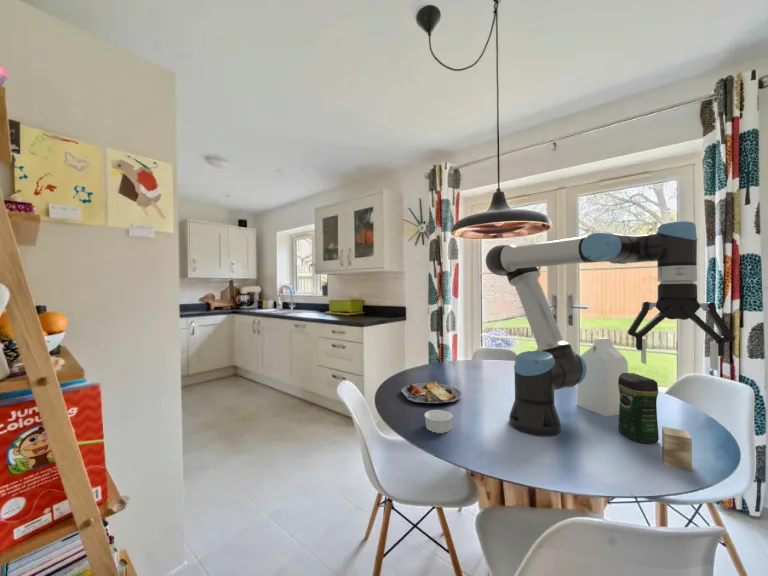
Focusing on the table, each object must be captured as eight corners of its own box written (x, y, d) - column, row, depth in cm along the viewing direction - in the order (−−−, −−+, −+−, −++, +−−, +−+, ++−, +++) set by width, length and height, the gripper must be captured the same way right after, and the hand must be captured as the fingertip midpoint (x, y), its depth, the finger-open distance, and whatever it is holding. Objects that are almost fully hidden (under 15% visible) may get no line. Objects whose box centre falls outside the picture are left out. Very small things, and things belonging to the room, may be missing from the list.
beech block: (664, 465, 81) (664, 433, 81) (662, 456, 85) (662, 426, 85) (691, 471, 78) (691, 438, 78) (687, 462, 83) (687, 431, 83)
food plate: (395, 388, 144) (395, 380, 144) (444, 385, 149) (444, 377, 149) (413, 411, 119) (413, 401, 119) (470, 406, 125) (470, 397, 125)
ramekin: (431, 436, 98) (431, 422, 98) (420, 424, 107) (420, 411, 107) (457, 432, 100) (457, 418, 100) (444, 421, 109) (444, 408, 109)
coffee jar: (665, 444, 92) (664, 379, 92) (636, 444, 92) (636, 379, 92) (638, 429, 101) (638, 370, 101) (613, 429, 102) (613, 370, 101)
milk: (599, 401, 126) (599, 335, 126) (630, 412, 115) (630, 339, 115) (576, 405, 122) (576, 336, 122) (606, 416, 112) (605, 341, 112)
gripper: (618, 283, 86) (618, 363, 86) (754, 282, 73) (754, 375, 73) (615, 283, 92) (616, 357, 92) (740, 282, 79) (740, 368, 79)
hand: (677, 365), depth 83 cm, fingers open, 13 cm apart
